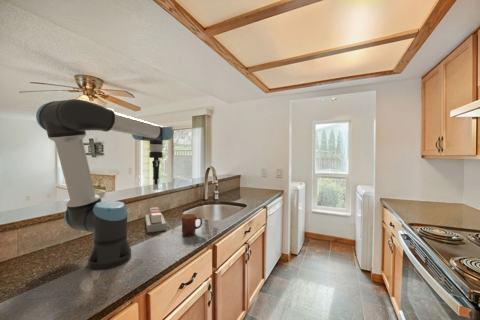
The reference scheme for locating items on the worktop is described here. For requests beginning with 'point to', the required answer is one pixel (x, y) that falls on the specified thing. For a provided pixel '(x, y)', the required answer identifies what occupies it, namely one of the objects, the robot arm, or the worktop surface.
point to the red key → (155, 211)
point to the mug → (189, 224)
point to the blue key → (153, 209)
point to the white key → (156, 217)
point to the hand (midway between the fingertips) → (155, 189)
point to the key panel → (155, 224)
